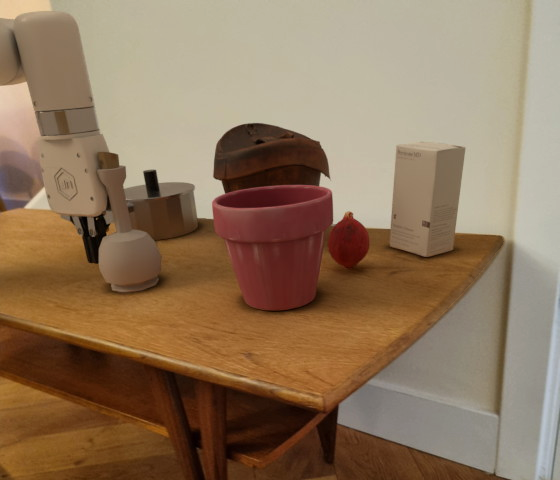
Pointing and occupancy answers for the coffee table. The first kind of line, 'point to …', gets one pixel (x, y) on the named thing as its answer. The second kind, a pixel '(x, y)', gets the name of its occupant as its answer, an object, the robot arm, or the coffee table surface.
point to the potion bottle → (125, 237)
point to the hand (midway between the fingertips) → (100, 260)
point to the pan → (164, 216)
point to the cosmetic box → (426, 197)
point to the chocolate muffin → (267, 158)
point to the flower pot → (275, 241)
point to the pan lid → (156, 189)
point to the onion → (348, 241)
